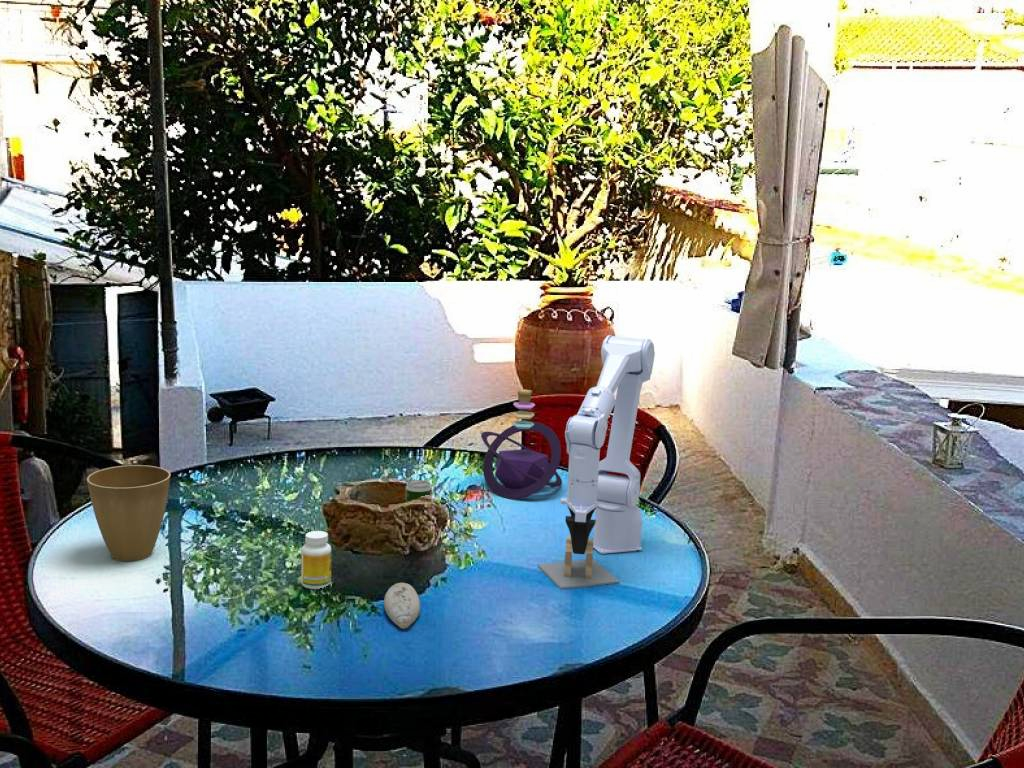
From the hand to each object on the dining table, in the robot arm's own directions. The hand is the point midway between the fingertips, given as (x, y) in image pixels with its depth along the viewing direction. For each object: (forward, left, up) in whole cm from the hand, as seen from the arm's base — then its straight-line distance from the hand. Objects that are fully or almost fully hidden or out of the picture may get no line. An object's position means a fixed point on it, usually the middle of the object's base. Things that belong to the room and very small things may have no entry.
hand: (579, 546), depth 191 cm
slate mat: (0, 0, -6) cm, 6 cm away
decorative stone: (+37, +9, -6) cm, 38 cm away
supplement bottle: (+49, -7, -6) cm, 50 cm away
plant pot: (+81, -30, -6) cm, 87 cm away
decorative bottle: (-9, -57, -6) cm, 58 cm away
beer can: (+25, -27, -6) cm, 37 cm away
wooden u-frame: (0, 0, -5) cm, 5 cm away
